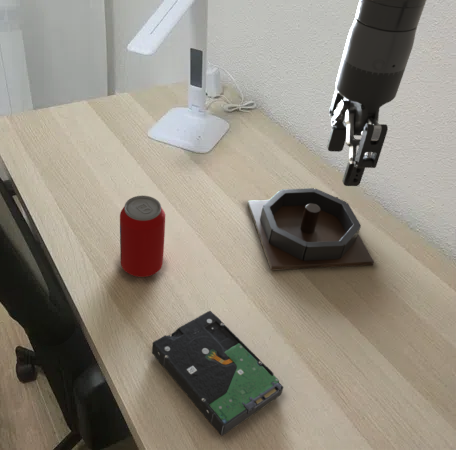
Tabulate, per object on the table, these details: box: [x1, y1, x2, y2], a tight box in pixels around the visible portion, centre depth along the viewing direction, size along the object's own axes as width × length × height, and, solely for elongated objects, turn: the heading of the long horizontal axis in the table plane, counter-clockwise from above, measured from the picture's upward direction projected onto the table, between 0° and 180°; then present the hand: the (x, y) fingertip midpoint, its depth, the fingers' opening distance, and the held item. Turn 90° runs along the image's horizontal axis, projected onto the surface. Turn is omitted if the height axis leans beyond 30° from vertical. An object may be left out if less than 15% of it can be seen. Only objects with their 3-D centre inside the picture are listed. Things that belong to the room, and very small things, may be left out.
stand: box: [246, 196, 375, 271], centre depth 93 cm, size 17×17×6 cm
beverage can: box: [119, 195, 166, 278], centre depth 84 cm, size 7×7×12 cm
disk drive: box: [151, 310, 284, 437], centre depth 72 cm, size 10×3×15 cm
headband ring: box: [260, 187, 362, 261], centre depth 94 cm, size 15×15×3 cm
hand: (341, 166), depth 78 cm, fingers open, 8 cm apart
